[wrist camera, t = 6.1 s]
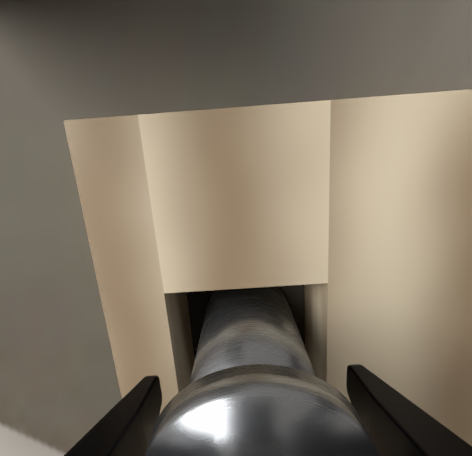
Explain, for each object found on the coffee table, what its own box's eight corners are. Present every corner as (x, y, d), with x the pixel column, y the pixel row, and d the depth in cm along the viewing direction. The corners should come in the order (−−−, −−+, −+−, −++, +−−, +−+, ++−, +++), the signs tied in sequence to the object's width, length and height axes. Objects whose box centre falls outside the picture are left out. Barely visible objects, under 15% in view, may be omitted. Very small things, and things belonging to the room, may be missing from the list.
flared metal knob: (300, 259, 11) (396, 390, 5) (301, 356, 13) (379, 576, 6) (188, 266, 11) (117, 404, 5) (199, 361, 13) (155, 585, 6)
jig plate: (585, 99, 10) (734, 69, 7) (516, 405, 13) (596, 473, 10) (113, 135, 10) (63, 120, 7) (162, 424, 13) (142, 494, 11)
